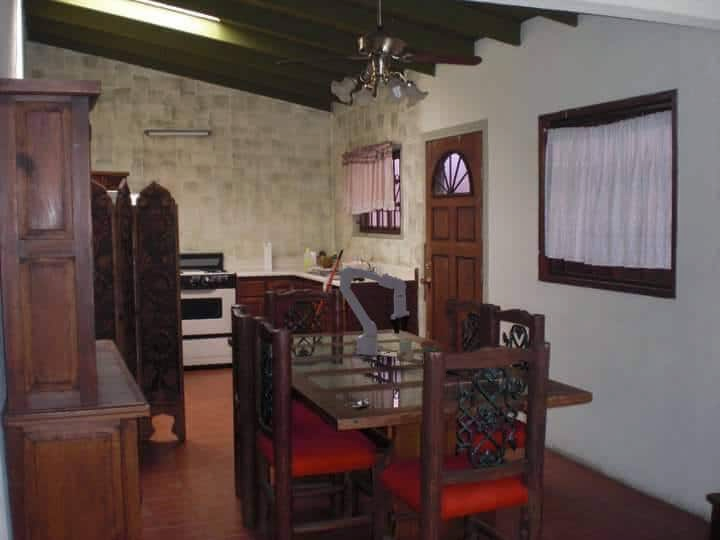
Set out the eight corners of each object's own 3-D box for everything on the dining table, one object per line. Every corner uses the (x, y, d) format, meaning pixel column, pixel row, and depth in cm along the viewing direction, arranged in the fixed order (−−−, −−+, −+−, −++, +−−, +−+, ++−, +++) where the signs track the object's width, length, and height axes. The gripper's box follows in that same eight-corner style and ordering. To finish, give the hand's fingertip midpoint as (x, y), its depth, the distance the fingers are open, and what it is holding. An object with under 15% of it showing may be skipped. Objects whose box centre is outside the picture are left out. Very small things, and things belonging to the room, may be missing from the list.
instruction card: (375, 355, 373) (375, 354, 373) (382, 351, 382) (382, 351, 382) (399, 356, 369) (399, 356, 369) (405, 353, 377) (405, 352, 377)
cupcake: (436, 356, 369) (436, 331, 368) (418, 355, 371) (418, 330, 370) (438, 352, 378) (438, 328, 377) (421, 352, 379) (421, 327, 378)
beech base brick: (396, 360, 362) (396, 352, 361) (401, 358, 367) (401, 349, 367) (408, 361, 359) (408, 352, 359) (413, 359, 364) (413, 350, 364)
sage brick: (399, 351, 362) (399, 340, 362) (404, 350, 365) (404, 339, 365) (406, 352, 360) (406, 341, 359) (411, 351, 363) (411, 340, 362)
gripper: (400, 306, 367) (400, 335, 368) (414, 302, 379) (415, 330, 380) (386, 305, 370) (387, 334, 372) (401, 301, 383) (402, 329, 384)
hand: (400, 332), depth 376 cm, fingers open, 7 cm apart
